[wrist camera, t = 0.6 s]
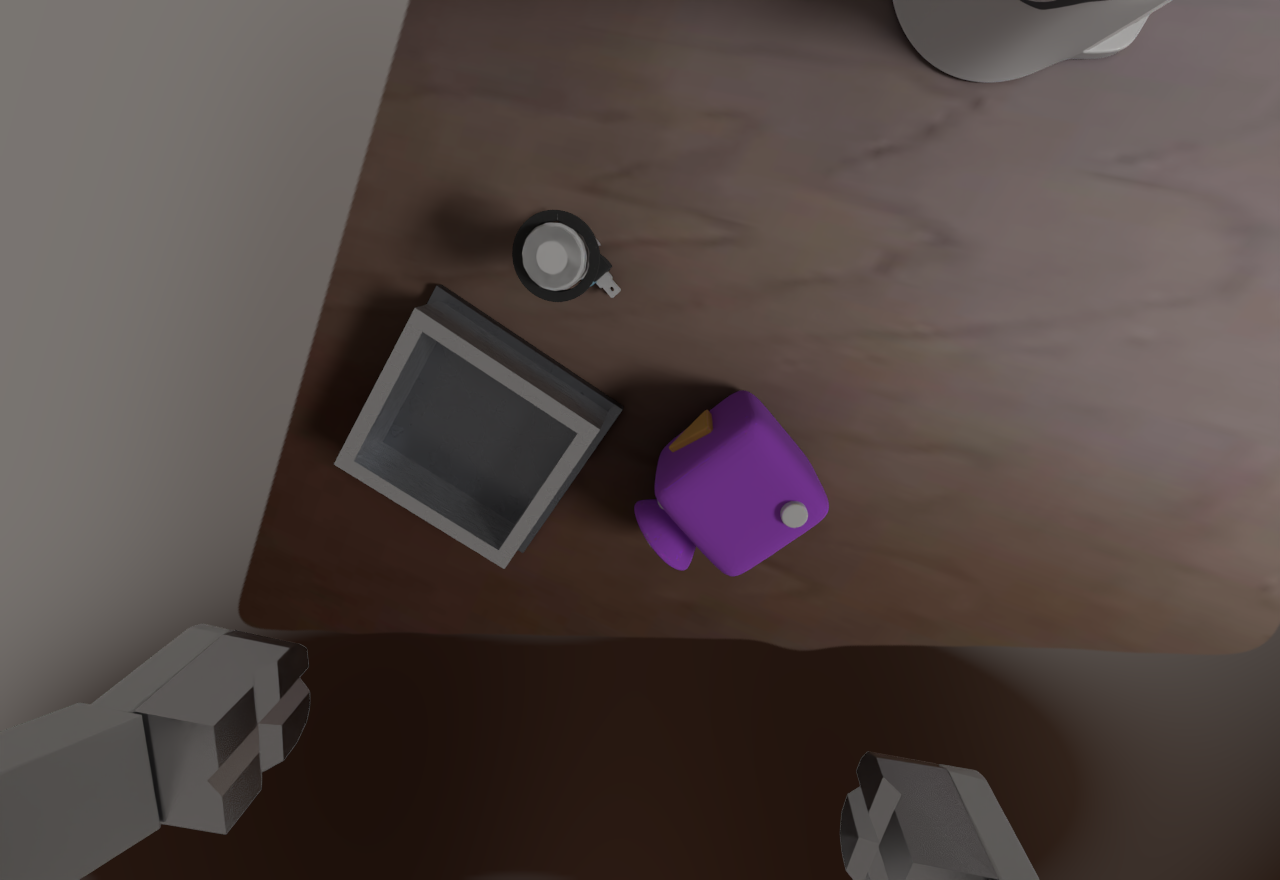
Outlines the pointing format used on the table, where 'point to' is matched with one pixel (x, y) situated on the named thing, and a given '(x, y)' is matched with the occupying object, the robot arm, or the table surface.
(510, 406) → the grey open box
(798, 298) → the table surface
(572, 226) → the push button
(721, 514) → the toy camera
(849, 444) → the table surface
